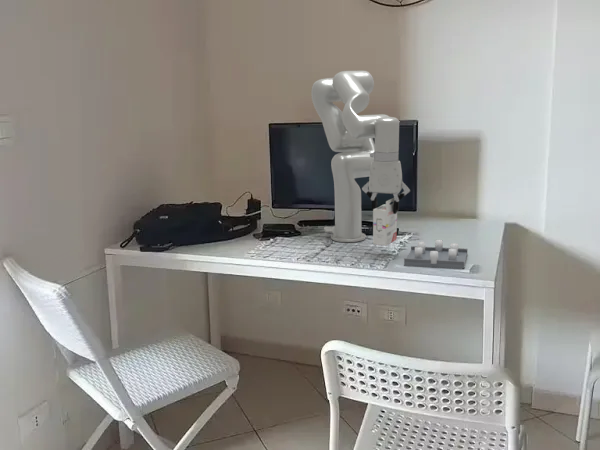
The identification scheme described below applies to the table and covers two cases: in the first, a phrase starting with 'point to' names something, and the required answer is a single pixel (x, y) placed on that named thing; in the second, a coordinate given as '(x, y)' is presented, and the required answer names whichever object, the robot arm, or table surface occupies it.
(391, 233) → the ink cartridge box
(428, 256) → the tray
